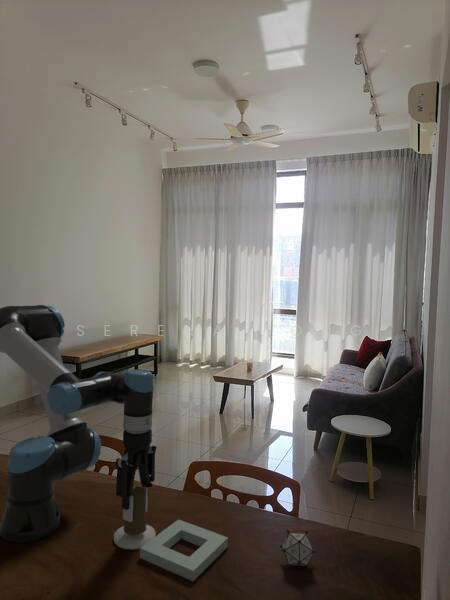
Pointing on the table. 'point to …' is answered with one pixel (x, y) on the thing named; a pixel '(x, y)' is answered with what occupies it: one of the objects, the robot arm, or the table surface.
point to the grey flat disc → (133, 538)
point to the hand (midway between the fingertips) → (135, 514)
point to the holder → (178, 562)
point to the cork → (137, 513)
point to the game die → (297, 549)
